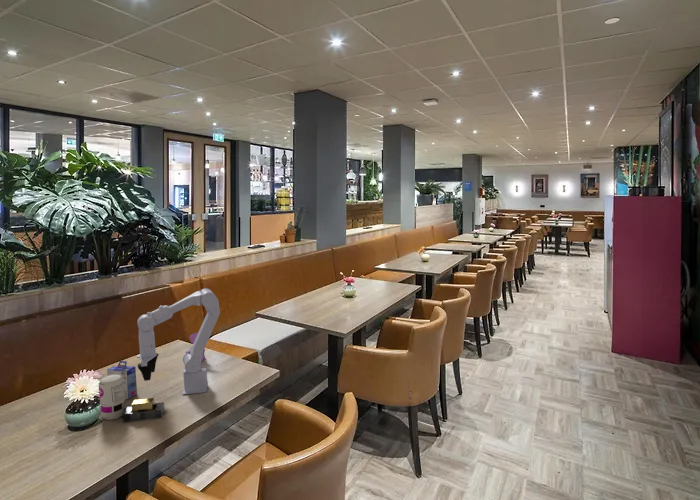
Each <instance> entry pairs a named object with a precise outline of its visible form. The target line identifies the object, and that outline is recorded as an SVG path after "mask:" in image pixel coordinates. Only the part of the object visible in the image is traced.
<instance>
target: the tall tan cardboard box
mask: <svg viewBox="0 0 700 500" xmlns="http://www.w3.org/2000/svg"><path fill="white" fill-rule="evenodd" d="M154 403H155V397H150V398H149V397H148V398H140V399H134V400H133V401H132V402H131V406H132V412H133V413H134V412H140V410H143V409H147V411H151V410H155V408H154Z"/></svg>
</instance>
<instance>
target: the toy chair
mask: <svg viewBox="0 0 700 500" xmlns="http://www.w3.org/2000/svg"><path fill="white" fill-rule="evenodd" d="M197 335H198V332H195V333H192V334H190V335H189V337H188V338H189V341H190V343H191V344H192V345H193V344H194V341H195V339H196V337H197ZM205 348H206V347H205ZM205 348H204V351H203V357H202V360H201V361H205V360H207V358H206V357H205V353H206V352H205V351H206V349H205ZM188 351H189V349H187V350H186V351H185V354H186V353H187V352H188Z"/></svg>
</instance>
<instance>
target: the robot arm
mask: <svg viewBox="0 0 700 500" xmlns="http://www.w3.org/2000/svg"><path fill="white" fill-rule="evenodd" d="M219 301H220V300H219V299H218V297H217V295H216V294H215V293H214V292H213V291H212V289H210V288H205V287H204V288H202V289H200V290H197V291H194V292H193V293H191V294H190V295H188V296H186V297H184V298H183V299H181V300H178V301H176V302H175V303H172V304H171V305H166V304H165V305H161V304H160V306H158V308H157V309H154V310H153V311H151V312H150V311H148V312H146V314H142V315H140V316H139V317H138V318H137V322H136V323H137V328H138V345H139V346H138V347H139V354H137V356H136V358H137V359H139V360H140V363H138V364H137V369H139V371H140V373H141V374H142V378H143V381H145V382H148V381H151V378H152V373H155V371H156V364H157V360H158V357H159V355H160V354H159V353H157V352H156V338H155V331H154V327H155V326H158V325H159V324H162V323H163V322H166V321H168V320H171V318H172V317H173V315H174V314H175V313H177V312H179V311H182V310H184V309H186V308H188V307H191V306H198V307H200V306H201V305H202V306H203V307H204V308H205V310H206V312H207V313H206V315H205V317H204V319H203V322H202V324H201V325H200V328H199V330H198V332H197V333H198V335H197V337H196V339H195V341H194V344H193V343H192V345H191V346H190V348H189V349H188V350H189V351H188V350H187V351H188V352H187V353H186V352H185V354H184V355H183V358H182V362H183V364H184V368H183V370H182V372H183V373H182V374H183V391H182V392H181V393H182V395H183V396H184V395H192V394H201V393H203V394H204V393H206V392H207V390H208V385H209V381H208V372H207V371H208V370H207V368H202V361H203V360H202V357H203V351H204V348H206V346H207V343H208V342H209V339H210V337H211V335H212V332H213V330H214V328H215V326H216V324H217V321H218V320H219V318H220V317H219V316H220V315H221V309H220V304H219Z"/></svg>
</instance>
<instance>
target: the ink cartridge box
mask: <svg viewBox="0 0 700 500" xmlns="http://www.w3.org/2000/svg"><path fill="white" fill-rule="evenodd" d="M106 373H107V375H111V374H120V375H121V376H122V377H123V379H124V390H125V400H129V399H131V398H132V397H134V396H136V395H137V394H138V388H137V371H136V366H135V365H134V366H131V365H128V361H124V360H119V362H118V364H115V365H113V366H111V367H110V368H107V369H106ZM107 375H106V376H107Z"/></svg>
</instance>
